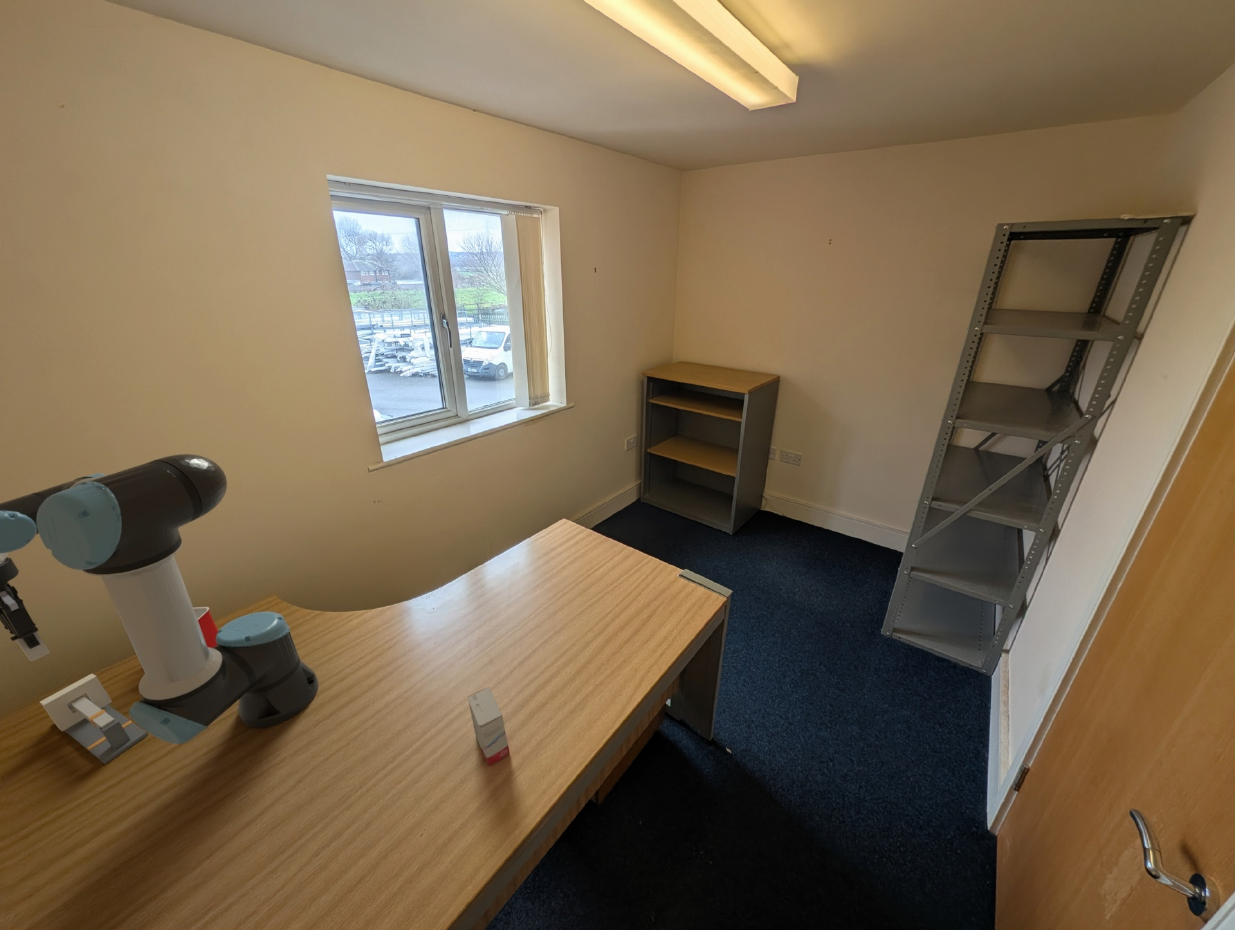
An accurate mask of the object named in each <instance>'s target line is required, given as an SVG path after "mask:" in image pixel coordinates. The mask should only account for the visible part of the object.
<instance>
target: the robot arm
mask: <svg viewBox="0 0 1235 930" xmlns="http://www.w3.org/2000/svg"><path fill="white" fill-rule="evenodd" d="M227 488H228V481H227V476H226V474H225V472H224V470H223V469H222V467H220V465H219V464H218V463H216V462H215V461H213V460H212V459H210V458H208V457H205V456H202V455H198V454H191V453H190V454H189V453H187V454H186V453H185V454H181V453H180V454H174V455H167V456H164V457H161V458H156V459H154V460H151V461H149V462H146V463H142V464H139V465H136V466H133V467H130V468H127V469H124V470H121V471H117V472H115V473H114V472H113V473H112V474H110V473H109V474H105V473H94V474H90V475H85V476H82V477H81V476H80V477H78V478H75V479H73V480H70V481H67V482H64V483H61V484H57V485H55V486H52V487H48V488H45V489H42V490H39V491H36V492H32V493H29V494H26V495H22V496H20V497H15V498H13V499H10V500H8V501H3V502H0V622H1V623H2V625H3V628H4V629H5V630H7V631H9V634H11V635H12V636H11V637H9V638H10V640H11V641H12V642H14V641H16V643H17V644H18V646H19V647H20V649H21V650H22V652H23V654H24V655H25V656H26V658H27V659H28V660H29V661H30V662H35V661H36V660H39V659H41V658H43V657H45V656H47V655H49V654H51V652H50V650H49V648H48V647H47V646H46V644H45V642H44V641H43V640H42V638H41V636H40V635H39V633H38V632H39V628H38V627H37V626H36V625H37V624H36V623H35V622H34V621H33V619H32V617H31V615H30V614H29V612H28V610H27V608H26V606H25V604H24V600H23V599H21V598H20V597H19V595H18V593H19V591H18V590H17V588H16V587H15V586H14V585H11V584H10V583H9V582H10V581H11V580H13V579H15V578H16V577H17V576H18V575H19V573H20V571H19V569H18V567H17V565H16V564H15V562H14V561H13V559H12V558H11V557H8V556H9V553H11V552H14V551H18V550H21V549H22V548H24V547H26V546H27V545H28V544H29V543H30V542H31V541H33V540H34V539H35V537H36V535H39V538H40V539H41V541H42V543H43V545H44V547H45V548H46V549H47V550H50V551H51V555H52V556H53V558H54V559H56V561H58V562H59V563H60V564H62V565H63V566H65V567H67V568H70V569H73V570H78V571H82V572H83V573H85V574H87V575H90V576H95V577H101V579H102V582H103V584H104V586H105V588H106V590H107V593H108V594H109V597H110V598H111V601H112V604H113V605H114V608H115V610H116V613H117V614H118V617H119V619H120V621H121V624H122V626H123V628H124V630H125V632H126V634H127V636H128V638H129V641H130V644H131V645H132V647H133V649H134V652H135V654H136V657H137V659H138V661H139V663H140V666H141V667H142V670H143V672H144V675H143V676H142V677H141V679H140V681H139V684H138V691H139V694H140V696H141V699H139V701H137V700H136V702H134V703H133V705H131V706H130V708H129V710H128V713H129V717H130V718H131V719H132V720H133V721H134V723H135V724H136V725H137V726H139V727H140V728H141V729H143V730H144V731H146V732H147V733H149V734H150V735H152V736H153V737H156V738H157V739H159V740H162V741H164V742H166V743H169V744H173V745H181V744H186V743H187V742H191V741H192V740H193V739H194V738H195V737H197V736H198V735H199V734H201V733H202V732H203V731H205V730H206V729H207V728H208V727H209V726H211V725H212V724H213V723H214V722H215V721H216V720H217V719H218V718H219V717H221V716H222V715H223V714H224V713H225V712H226V711H227V710H229V709H230V708H231V707H232V706H233V705H234V704H235V703H237V702H238V707H237V708H238V709H237V712H238V715H239V717H240V719H241V722H242V723H243V724H244V725H245V726H246V727H249V728H253V729H262V728H263V729H264V728H269V727H270V728H271V727H272V726H275V725H276V726H277V725H279V724H281V723H284V722H285V721H287V720H289V719H291V718H292V717H294V716H296V715H298V714H299V713H300V712H301V711H303V710H304V709H305V708H306V707H307V706H308V705H309V704H310V703H311V701H312V700H313V699H314V698H315V696H316V694H317V692H318V689H319V680H318V678H317V675H316V673H315V671H314V670H313V669H311V668H310V667H309V666H308V665H307V664H306V663H305V662H304V661H302V660H301V659H300V658H301V657H300V655H299V653H298V650H297V648H296V645H295V642H294V640H293V637H292V634H291V628H290V625H288V624H287V621H286V620H285V618H284V616H283V615H282V614H280V613H277V612H275V611H258V612H253V613H252V612H251V613H249V614H245V615H242V616H239V617H237V618H235V619H233V620H231V621H229V622H226V624H224V625H223V626H222V627H220V629H218V633H217V635H216V643H217V645H216V646H215V647H213V648H209V647H207V645H206V642H205V639H204V637H203V634H202V631H201V628H200V625H199V623H198V620H197V617H196V614H195V612H194V609H193V608H194V607H193V604H192V603H193V602H192V601H191V599H190V595H189V592H188V590H187V587H186V584H185V581H184V579H183V577H182V573H181V570H180V568H179V565H178V562H177V560H176V557H175V554H177V553H178V552H179V550H181V548H182V545H183V540H182V536H181V534H180V532H179V528H181V527H183V526H185V525H187V524H189V523H191V522H194V521H195V520H197V519H200V518H201V517H204V516H205V515H207V514H209V513H210V512H211V511H213V510H214V509H215V508H216V507H217V506H218V505H219V504H220V503H221V502H222V500H223V498H224V497H225V495H226V492H227Z"/></svg>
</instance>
